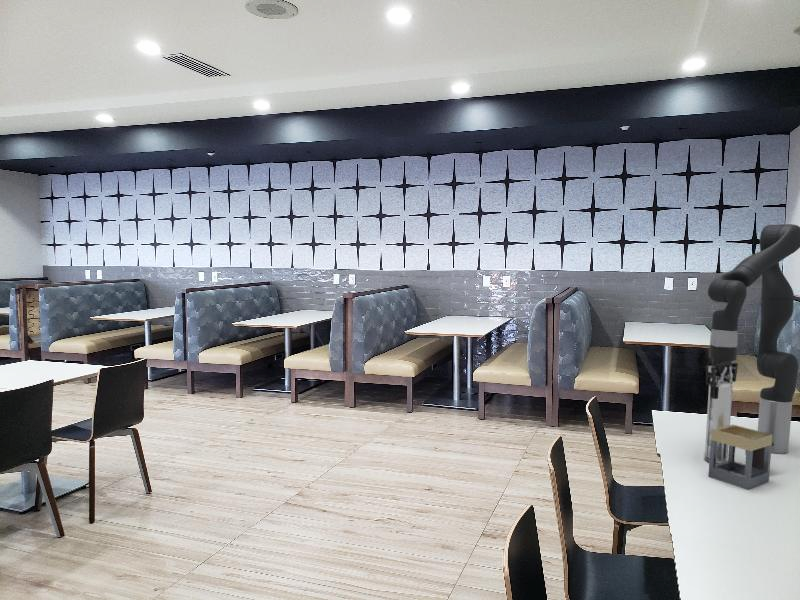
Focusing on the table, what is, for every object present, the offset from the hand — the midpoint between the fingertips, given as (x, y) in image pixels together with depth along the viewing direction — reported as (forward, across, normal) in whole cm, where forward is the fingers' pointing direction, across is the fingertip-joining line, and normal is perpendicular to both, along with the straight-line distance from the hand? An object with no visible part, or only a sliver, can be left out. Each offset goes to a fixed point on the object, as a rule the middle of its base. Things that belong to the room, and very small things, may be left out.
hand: (720, 396), depth 191 cm
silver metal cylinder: (+20, 0, 0) cm, 20 cm away
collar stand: (+21, +9, +12) cm, 26 cm away
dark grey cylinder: (+21, -3, +11) cm, 24 cm away
